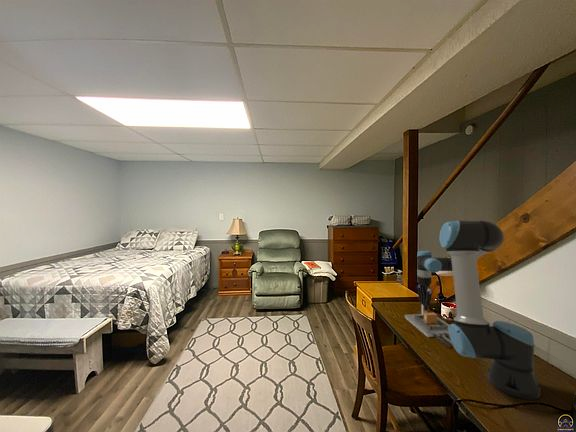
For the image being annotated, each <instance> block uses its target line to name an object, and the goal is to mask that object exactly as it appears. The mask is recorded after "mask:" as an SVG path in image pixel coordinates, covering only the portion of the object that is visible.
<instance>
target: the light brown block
mask: <svg viewBox="0 0 576 432" xmlns="http://www.w3.org/2000/svg"><path fill="white" fill-rule="evenodd" d="M437 317H438V314H437V313H435V312H427V313H424V322H426V323H427V324H430V323H437Z"/></svg>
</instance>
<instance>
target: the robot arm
mask: <svg viewBox="0 0 576 432" xmlns="http://www.w3.org/2000/svg"><path fill="white" fill-rule="evenodd" d="M504 240H505V235H504V232H503V230H502V229H501V228H500V227H499V226H498V225H497V224H496V223H494V222H491V221H487V220H453V221H447V222H445V223H444V224H443V225H442V226H441V229H440V231H439V243H440V246H441V248H443V249H446V250H445V251H446V254H448V255H449V256H450V257H439V256H438V257H435V256H434V257H433V256H432V252H431V251H429V250H418V251H417V253H416V254H417V255H416V261H417V262H416V264H417V265H416V267H417V269H416V272H417V273H416V275H417V277H416V278H417V281H416V282H417V283H418V284H416V289H417V295H418V301H419V302H420V304H421V314H422V315H423V316H424V313H428V306H430V305H431V301H432V295H433V290H431V287H430V285H431V284H432V273H439V272H452V275H453V277H452V278H453V285H454V287H453V288H454V295H455V305H456V312H457V315H456V316H455V317H453V323H451V324H449V336H450V338H449V340H451V342H452V344H453V345H452V344H451V345H452V346H453V348H454V349H455V351H456V353H458V354H459V355H460V356H462V357H465V358H466V357H467V358H472V359H486V360H487V359H488V360H492V361H491V363H490V366H489V368H488V370H487V380H488V382H489V383H490V385H492V386H493V387H495V388H496V389H498V390H500V391H501V392H503V393H505V394H507V395H509V396H512V397H515V398H517V399H518V398H519V399H523V400H527V401H528V400H529V401H530V400H532V401H533V400H537V399H539V398H540V397H541V387H540V385H539V383H538V380H537V378H536V375H535V372H534V371H535V370H534V369H535V368H534V367H535V366H534V365H535V364H534V363H535V360H534V356H535V355H534V354H535V352H534V351H535V350H534V349H535V342H534V341H535V340H534V335H533V334H532V333H531V332H530V331H529V330H528V329H526V328H524V327H521V326H519V325H517V324H515V323H510V322H508V321H504V320H503V321H502V320H494V321H493V323H492V325H490V322H489V321H488V320H487V319H485V317H484V313H483V312H484V311H483V303H482V295H481V289H480V288H481V287H480V281H479V273H478V265H477V263H478V262H477V260H478V259H479V258H481V257H482V256H484V255H485V254H487V253H491V252H494V251H496V250H498V249H499V248H500V247H501V246H502V245H503V243H504Z"/></svg>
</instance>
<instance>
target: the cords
mask: <svg viewBox="0 0 576 432" xmlns="http://www.w3.org/2000/svg"><path fill="white" fill-rule="evenodd" d="M441 336H442V337H439V336H437V335H435V337H434V338H436V339H437V340H439V341H440V342H441V343H442V344H444V345H445V346H446V348H449V349H450V348H451V345H452V346H453V344H452V342H451V339H450V336H449V335H447V336H446V337H445V336H444V335H441ZM445 340H446V341H447V342H448V343H447V342H446V341H445Z"/></svg>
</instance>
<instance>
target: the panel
mask: <svg viewBox="0 0 576 432" xmlns="http://www.w3.org/2000/svg"><path fill="white" fill-rule="evenodd" d="M404 318H405V319H406V321H408V322H409V323H410V324H412V326H414V327H415V328H416V329H417V330H418V331H420V332H421V333H422V334H423V335H425V336H426V338H436V337H435V335H437V336H439V337H440V338H443V337H442V336H441V335H444V336H445V337H447V335H449V325H450V324H449V323H447V322H445V321H444V320H443V319H441V318H440V317H438V316H437V323H430V324H427V323H426V322H424V316H423V315H422V313H414V314H404Z"/></svg>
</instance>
